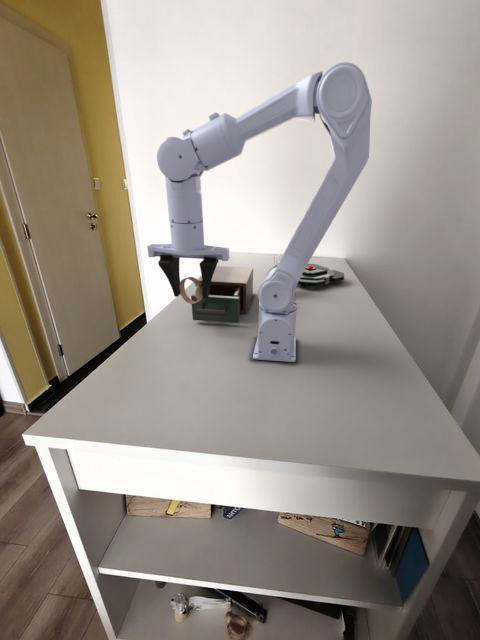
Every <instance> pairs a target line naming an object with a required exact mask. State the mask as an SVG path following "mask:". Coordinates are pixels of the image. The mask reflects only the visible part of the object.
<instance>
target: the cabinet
mask: <svg viewBox="0 0 480 640" xmlns="http://www.w3.org/2000/svg"><path fill="white" fill-rule="evenodd" d="M197 280H198V281H199V282H200V283H201V284H202V285H201V286H203V283H202V275H201V276H200V277H199V278H198V279H197ZM211 285H228V286H243V304H242V307H241V309H240V312H239V314H247V313H248V309H249V306H250V303H251V301H252V298H253V295H254V267H243V266H226V265H225V266H224V265H217V266H216V268H215V271H214V274H213V277H212V280H211Z"/></svg>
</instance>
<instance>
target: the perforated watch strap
mask: <svg viewBox="0 0 480 640" xmlns="http://www.w3.org/2000/svg"><path fill="white" fill-rule="evenodd" d="M187 280H189V281H191V282H192V283H193V284H194V285H195V291H194V294H195V297H196V298H197V299H198V300H197V301H193V300H191V298H190V297H189V296H188V295H187V292H186V287H185V283H186V282H187ZM198 280H199V279H197V278H196V277H194V276H188V277H185V278H183V279H180V285H179V288H180V293H181V294H180V296H181V298H182V299H183V300H184V302H185V303H188V304H190V305H192V304H195V303H197V302H199V301H200V300H202V299H203V287H202V286H201V285H202V284H201V283H200V282H199V281H198Z"/></svg>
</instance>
